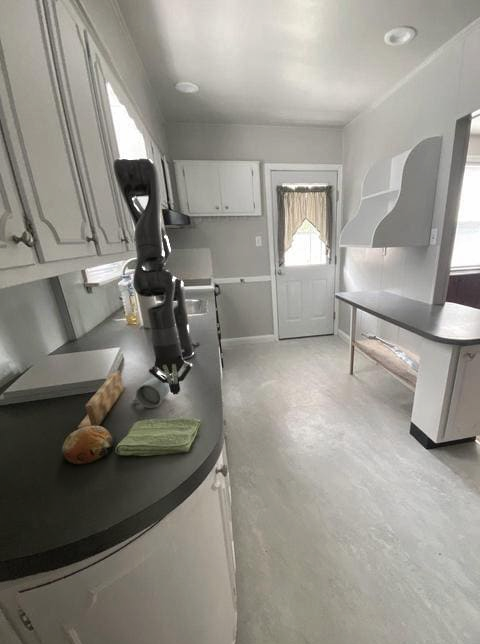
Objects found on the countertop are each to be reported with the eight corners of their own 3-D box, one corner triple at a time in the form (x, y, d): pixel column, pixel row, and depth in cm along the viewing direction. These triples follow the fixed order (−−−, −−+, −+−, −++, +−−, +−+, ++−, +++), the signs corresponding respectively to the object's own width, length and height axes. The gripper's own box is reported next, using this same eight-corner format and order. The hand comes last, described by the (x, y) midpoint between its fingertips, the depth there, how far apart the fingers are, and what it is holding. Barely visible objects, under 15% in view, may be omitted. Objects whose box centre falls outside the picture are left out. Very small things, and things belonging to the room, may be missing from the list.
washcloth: (191, 455, 71) (189, 444, 70) (114, 459, 70) (110, 447, 69) (202, 424, 83) (201, 414, 82) (137, 427, 82) (134, 416, 81)
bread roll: (110, 448, 80) (98, 420, 79) (122, 448, 72) (109, 417, 72) (67, 468, 73) (53, 438, 72) (76, 471, 65) (60, 437, 65)
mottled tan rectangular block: (108, 390, 103) (102, 371, 100) (123, 388, 104) (119, 370, 101) (77, 429, 81) (70, 407, 79) (98, 427, 82) (91, 405, 80)
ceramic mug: (173, 395, 99) (168, 373, 96) (163, 407, 91) (157, 385, 88) (141, 396, 99) (135, 374, 96) (128, 408, 92) (122, 386, 89)
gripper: (190, 335, 94) (198, 385, 100) (144, 339, 91) (156, 390, 98) (188, 342, 87) (196, 396, 93) (138, 346, 84) (151, 401, 91)
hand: (175, 393), depth 96 cm, fingers closed
